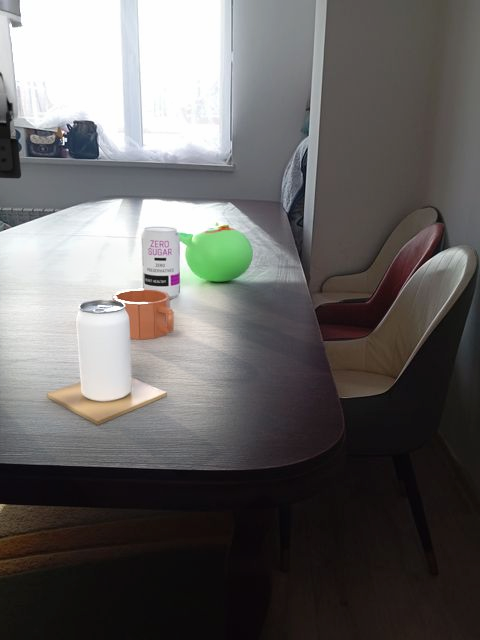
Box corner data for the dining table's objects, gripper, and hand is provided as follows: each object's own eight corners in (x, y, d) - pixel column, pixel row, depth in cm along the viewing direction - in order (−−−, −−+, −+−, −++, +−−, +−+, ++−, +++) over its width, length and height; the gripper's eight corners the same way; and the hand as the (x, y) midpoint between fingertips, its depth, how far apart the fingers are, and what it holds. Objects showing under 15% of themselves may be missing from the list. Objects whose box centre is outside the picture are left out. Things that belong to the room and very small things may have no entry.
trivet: (46, 397, 67) (46, 393, 67) (115, 373, 76) (115, 369, 76) (97, 425, 61) (97, 421, 61) (166, 396, 70) (166, 392, 69)
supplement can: (169, 289, 123) (168, 225, 118) (186, 297, 117) (185, 230, 111) (137, 293, 118) (135, 226, 113) (153, 301, 112) (151, 232, 107)
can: (137, 383, 71) (134, 300, 67) (124, 404, 65) (120, 314, 61) (91, 380, 71) (85, 297, 67) (74, 401, 65) (66, 311, 61)
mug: (103, 330, 93) (101, 295, 91) (145, 318, 101) (144, 286, 98) (151, 348, 86) (150, 310, 84) (192, 334, 94) (192, 300, 91)
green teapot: (218, 292, 123) (219, 229, 118) (169, 279, 132) (168, 221, 127) (263, 280, 137) (266, 224, 131) (216, 270, 146) (217, 217, 141)
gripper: (-59, 11, 59) (-38, 168, 65) (-60, -24, 45) (-33, 179, 52) (13, 23, 63) (26, 170, 69) (32, -6, 49) (47, 182, 55)
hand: (1, 174), depth 60 cm, fingers open, 9 cm apart
